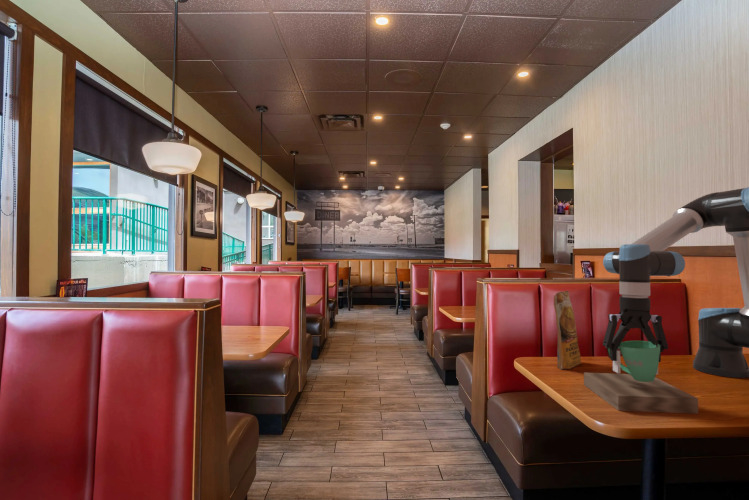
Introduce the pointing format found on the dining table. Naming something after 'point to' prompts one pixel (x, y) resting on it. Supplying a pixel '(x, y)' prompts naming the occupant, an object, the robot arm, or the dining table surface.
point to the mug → (639, 359)
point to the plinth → (640, 394)
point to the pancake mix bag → (566, 332)
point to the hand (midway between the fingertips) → (635, 372)
